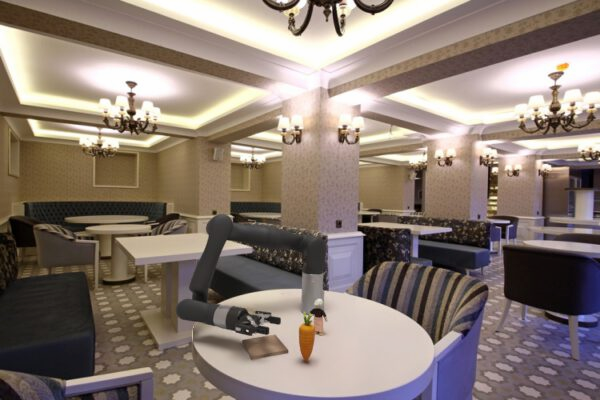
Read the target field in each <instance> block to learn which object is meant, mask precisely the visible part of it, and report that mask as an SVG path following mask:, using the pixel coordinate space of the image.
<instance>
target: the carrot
mask: <svg viewBox="0 0 600 400" xmlns="http://www.w3.org/2000/svg"><path fill="white" fill-rule="evenodd" d="M302 315H303V321H304V323H301V324H300V325H299V327H298V343H299V351H300V354H301V356H302V358H303V361H304V362H305V363H307V362H308V361H309V359H310V357H311V355H312V354H313V349H314V345H315V337H316V336H315V335H316V334H315V326H314V324H312V323H313V320H311V318H312V317H313V316H314V315H313V314H306V313H305V312H304V313H303V312H302ZM307 315H308V316H307Z"/></svg>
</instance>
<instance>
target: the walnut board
mask: <svg viewBox="0 0 600 400" xmlns="http://www.w3.org/2000/svg"><path fill="white" fill-rule="evenodd" d="M241 344H242V346H243V347H244V350H245V351H246V352H247V354H248V356H249V358H250V360H252V361H253V360H259V359H263V358H268V357H273V356H279V355H283V354H289V349H288V348H287V346H286V345H285V343H283V341H281V340H280V338H279V337H278V335H276V334H270V335H269V334H268V335H263V336H258V337H252V338H245V339H244V338H243V339H241Z"/></svg>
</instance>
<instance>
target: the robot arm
mask: <svg viewBox="0 0 600 400" xmlns="http://www.w3.org/2000/svg"><path fill="white" fill-rule="evenodd" d="M205 231H206V234H207V235H208V236H207V237H208V238H207V240H206V244H205V248H204V249H203V251H202V254H201V256H200V257H199V260H198V262H197V264H196V266H195V269H194V272H193V274H192V277H191V279H190V281H189V285H188V290H189V291H190V292H192V297H191V298H185V299H182V300H180V301H179V302H178V303H177V305H176V307H175V314H176V316H177V318H179V319H180V320H182V321H187V322H188V321H189V322H196V323H202V324H205V325H208V326H212V327H216V328H220V329H223V330H228V331H231V332H232V331H233V332H235V333H237V334H241V335H245V336H247V337H252V336H253V335H257V334H259V335H263V336H269V334H270V326H264V325H265V324H272V325H277V326H279V325H281V323H282V319H281V317H279V316H274V315H272V312H270V311H263V310H257V309H256V310H257V311H255V313H251V314H249V313H248V311H247V309H248V308H245V307H241V306H235V305H230V304H220V303H212V302H210V303H209V302H208V297H209V289H210V287H211V283H212V280H213V278H214V274H215V271H216V269H217V265H218V262H219V259H220V256H221V254H222V252H223V249H224V247H225V245H226V242H227V241H232V242H237V243H238V242H239V243H244V244H247V245H250V246H255V247H259V248H261V249H269V250H277V251H279V250H280V251H281V250H282V251H285V250H286V251H287V250H289V251H294V252H298V253H301V254H304V255H306V259H305V260H306V263H305V264H303V266H302V273H301V276H302V278H301V303H300V304H301V305H300V307H301V308H300V311H301V312H302V314H303V313H304V312H305V313H306V315H309V313H310V311H311V310H312V309H314V308H316V306H315V305H314V302H315V301H316V300H317V299H322V300H323V304H322V308H320V309H322V310H324V311H325V290H324V289H323V287H324V284H323V283H324V269H325V267H326V260H327V258H326V257H327V244H326V242H325V240H324V239H323V238H321V237H320V236H315V235H309V234H308V235H307V234H297V233H293V232H290V231H287V230H284V229H281V228H278V227H275V226H269V225H262V224H243V223H242V224H241V223H237V222H234V221H233V219H232V218H231V216H229V215H228V214H226V213H220V214H216V215H214V216H213V217H211V218H210V219H209V220H208V222H207V223H206V225H205ZM313 316H315V314H313ZM260 319H261V322H260ZM264 320H265V321H264Z"/></svg>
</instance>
